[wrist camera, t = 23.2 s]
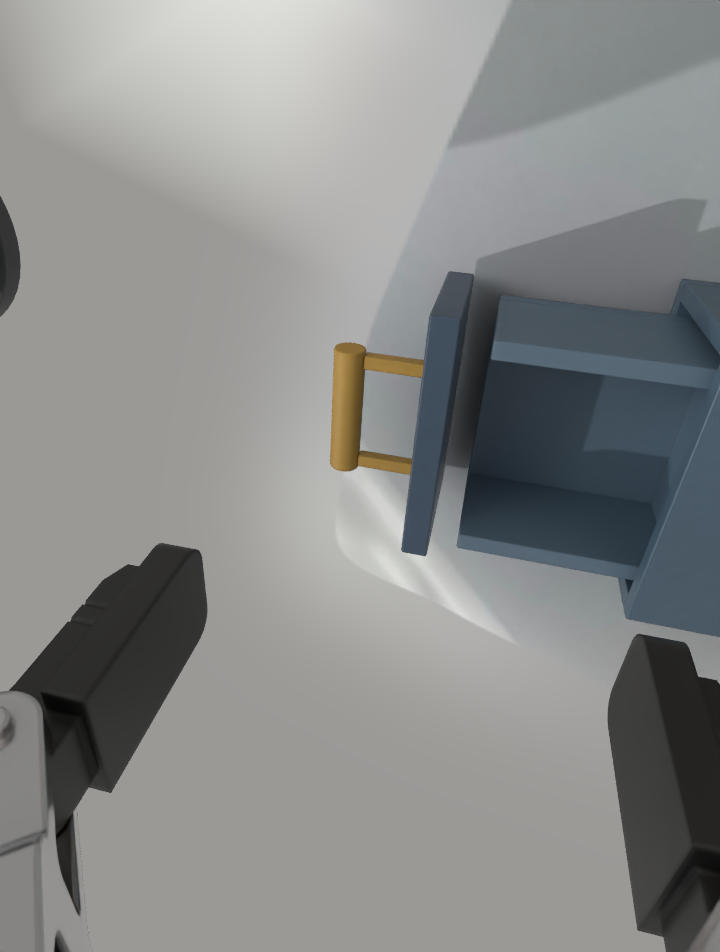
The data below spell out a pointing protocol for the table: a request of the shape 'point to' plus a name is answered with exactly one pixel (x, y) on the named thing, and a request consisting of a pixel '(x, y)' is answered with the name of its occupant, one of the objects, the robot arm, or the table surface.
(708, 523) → the cabinet
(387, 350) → the table surface
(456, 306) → the drawer
